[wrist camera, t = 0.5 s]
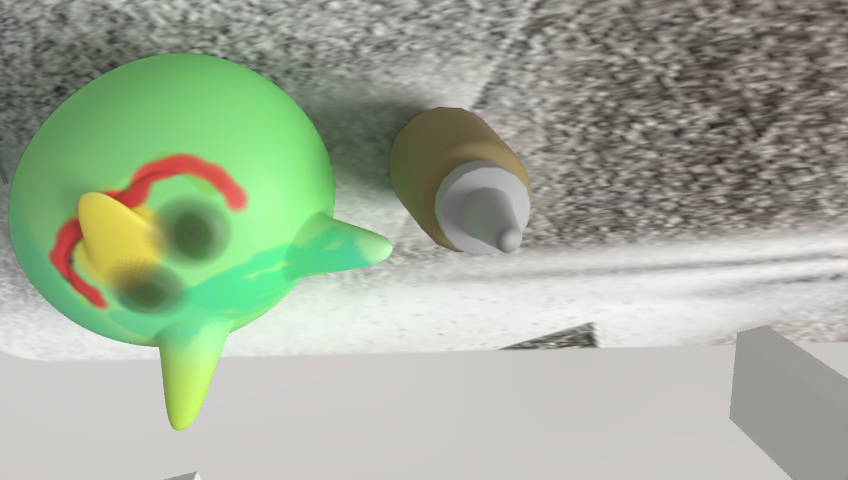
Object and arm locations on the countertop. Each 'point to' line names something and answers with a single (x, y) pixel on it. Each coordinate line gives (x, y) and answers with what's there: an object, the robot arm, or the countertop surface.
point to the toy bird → (178, 211)
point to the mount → (2, 179)
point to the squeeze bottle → (460, 182)
